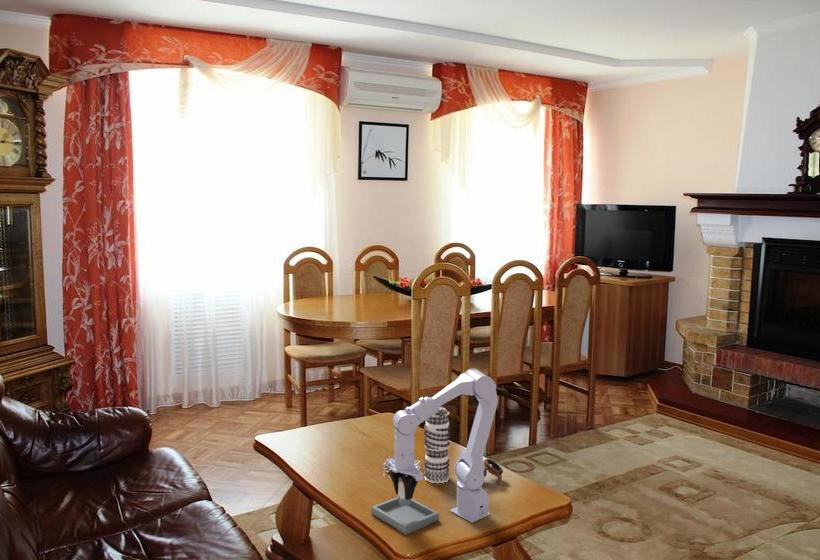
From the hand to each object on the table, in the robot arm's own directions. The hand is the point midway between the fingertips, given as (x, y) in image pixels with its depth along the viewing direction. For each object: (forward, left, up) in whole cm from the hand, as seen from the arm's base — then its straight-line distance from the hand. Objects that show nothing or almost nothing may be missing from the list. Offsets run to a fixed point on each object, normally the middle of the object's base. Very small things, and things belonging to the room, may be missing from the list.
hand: (404, 495), depth 199 cm
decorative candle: (+16, -28, -9) cm, 34 cm away
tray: (+2, -2, -8) cm, 9 cm away
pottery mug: (+4, -39, -9) cm, 41 cm away
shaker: (0, 0, -2) cm, 2 cm away
